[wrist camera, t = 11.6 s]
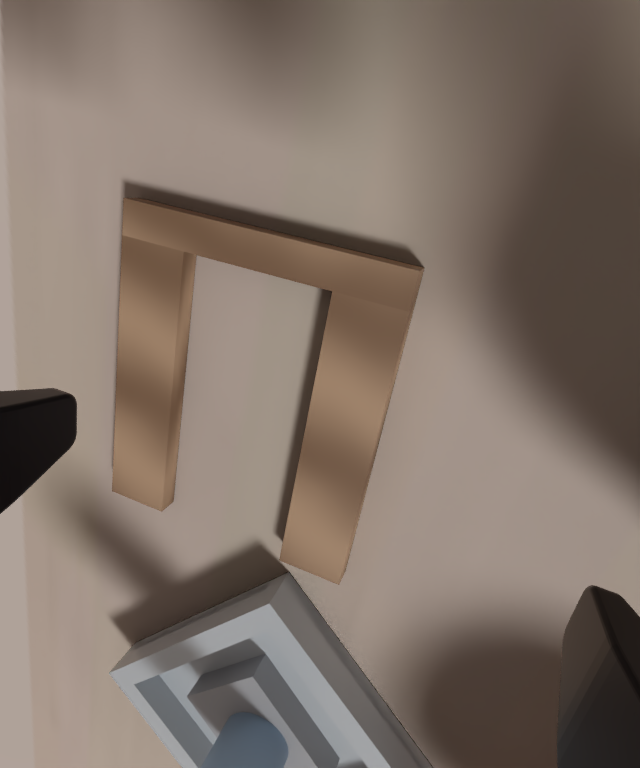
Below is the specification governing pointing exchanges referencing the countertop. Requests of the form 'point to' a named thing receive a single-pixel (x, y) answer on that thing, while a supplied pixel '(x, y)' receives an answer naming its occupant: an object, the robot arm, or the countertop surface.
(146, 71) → the countertop surface
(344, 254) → the slot
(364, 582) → the countertop surface
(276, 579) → the tray
